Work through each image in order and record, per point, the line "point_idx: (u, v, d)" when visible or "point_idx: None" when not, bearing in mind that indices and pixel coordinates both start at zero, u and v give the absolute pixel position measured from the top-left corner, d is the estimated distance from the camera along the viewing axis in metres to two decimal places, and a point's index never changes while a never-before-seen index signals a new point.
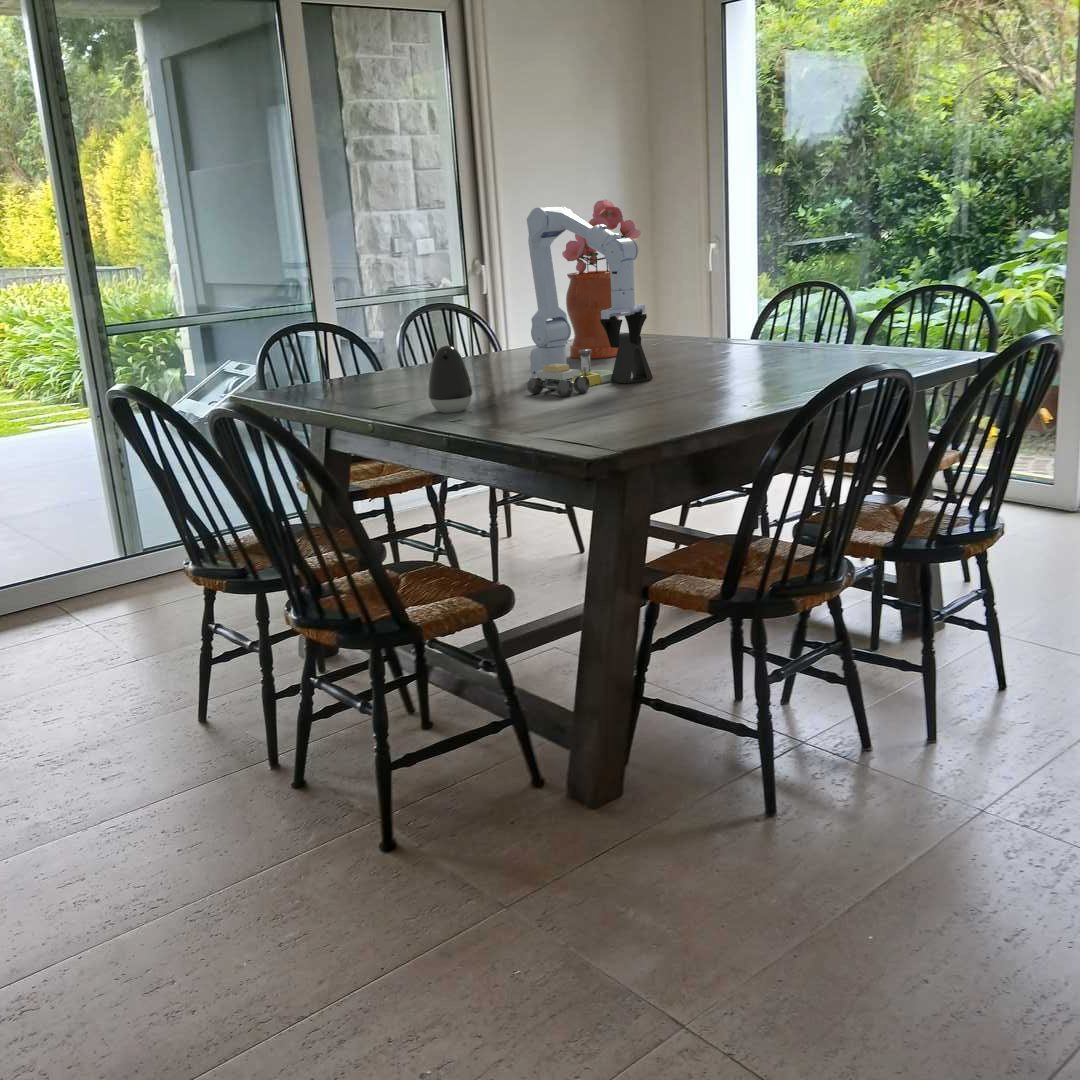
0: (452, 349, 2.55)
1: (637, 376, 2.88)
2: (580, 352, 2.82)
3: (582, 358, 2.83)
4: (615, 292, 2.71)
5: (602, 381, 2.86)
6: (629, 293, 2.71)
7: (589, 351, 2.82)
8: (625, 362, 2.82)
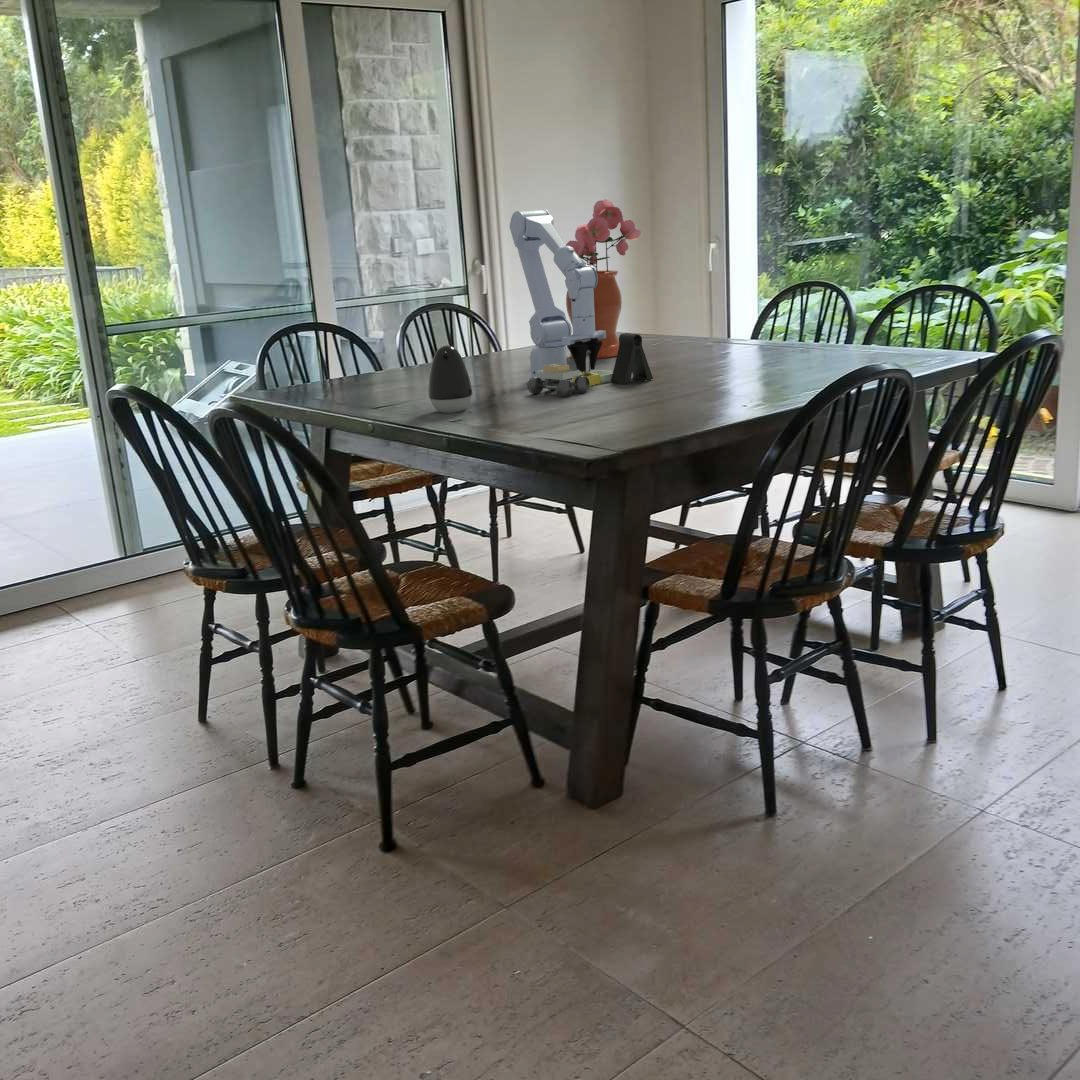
0: (452, 349, 2.55)
1: (637, 376, 2.88)
2: None
3: None
4: (576, 319, 2.79)
5: (602, 381, 2.86)
6: (589, 320, 2.78)
7: (589, 351, 2.82)
8: (625, 363, 2.82)
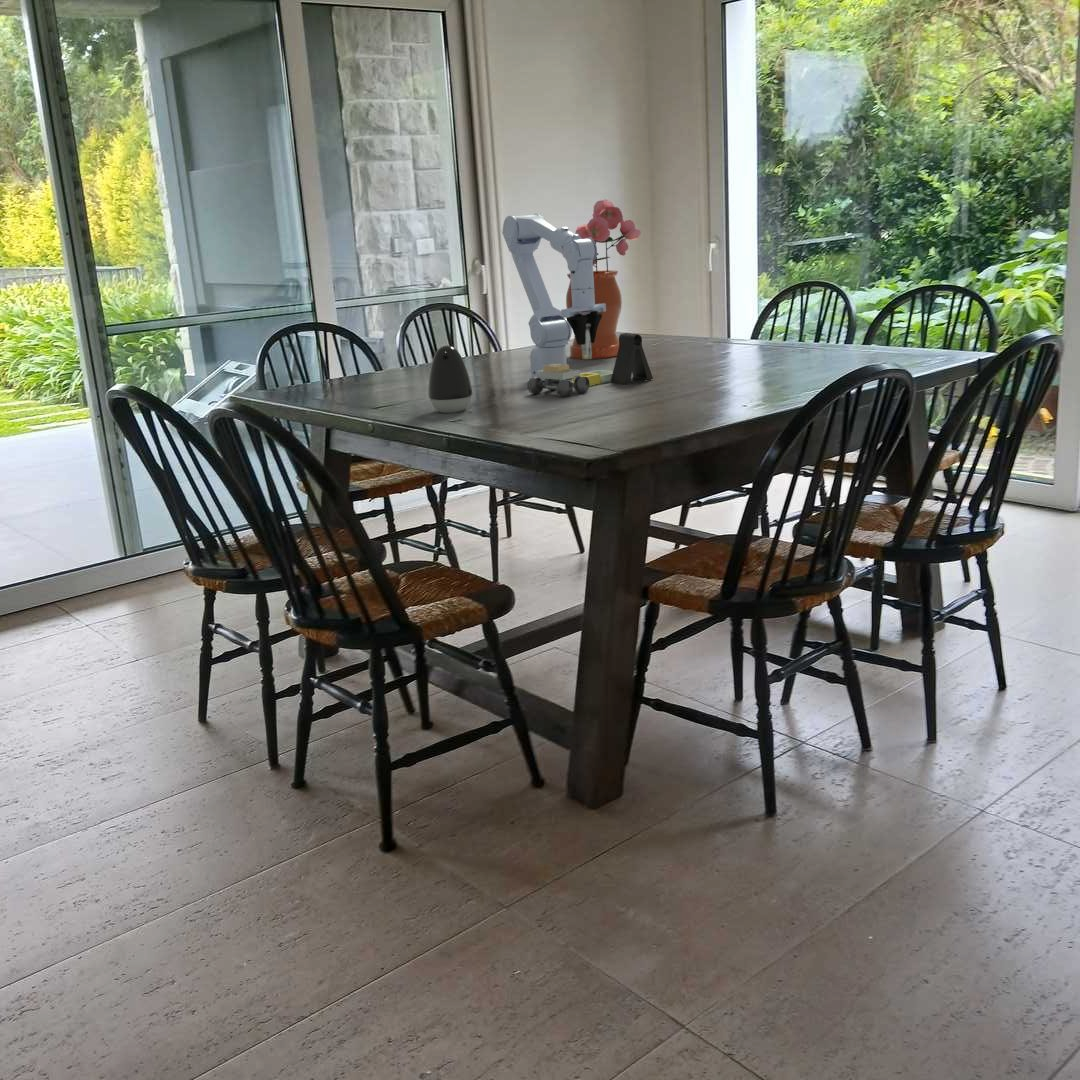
0: (452, 349, 2.55)
1: (637, 376, 2.88)
2: None
3: None
4: (575, 291, 2.77)
5: (602, 381, 2.86)
6: (589, 292, 2.77)
7: (589, 324, 2.80)
8: (625, 363, 2.82)
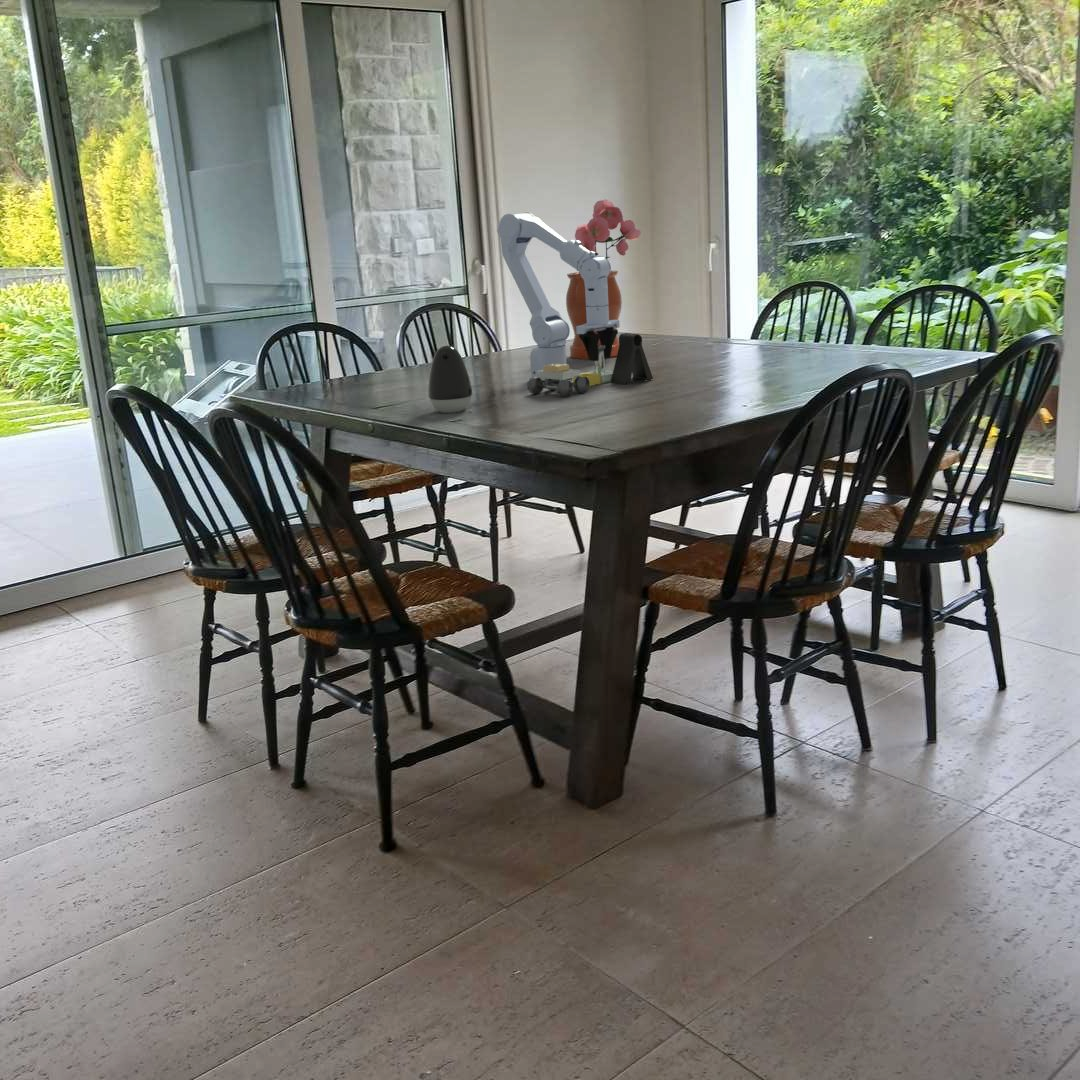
0: (452, 349, 2.55)
1: (637, 376, 2.88)
2: None
3: None
4: (590, 308, 2.82)
5: (602, 381, 2.86)
6: (603, 309, 2.82)
7: (603, 346, 2.86)
8: (625, 363, 2.82)
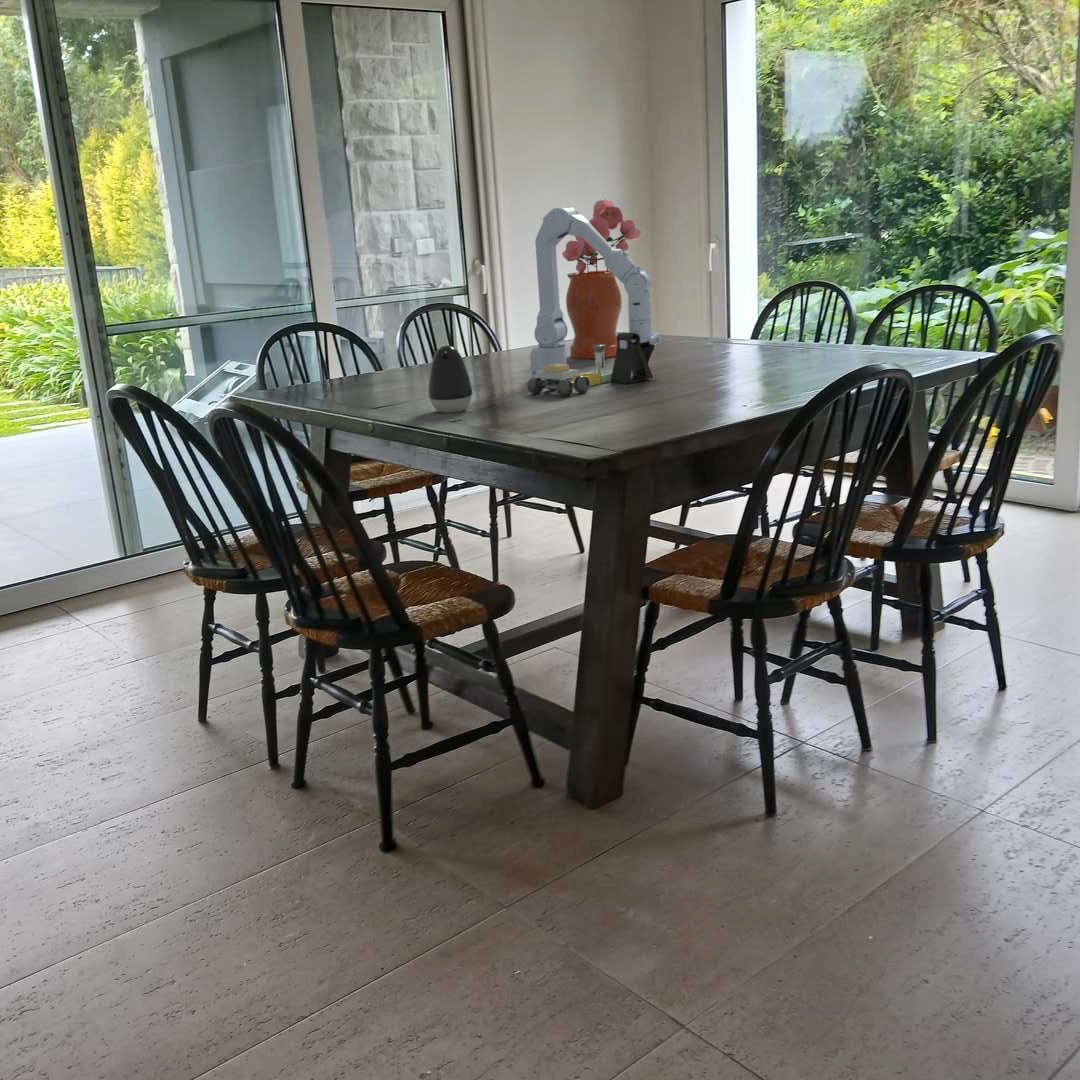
0: (452, 349, 2.55)
1: (637, 374, 2.88)
2: (594, 347, 2.86)
3: (596, 353, 2.87)
4: (633, 322, 2.83)
5: (602, 381, 2.86)
6: (646, 323, 2.83)
7: (603, 346, 2.86)
8: (624, 362, 2.82)
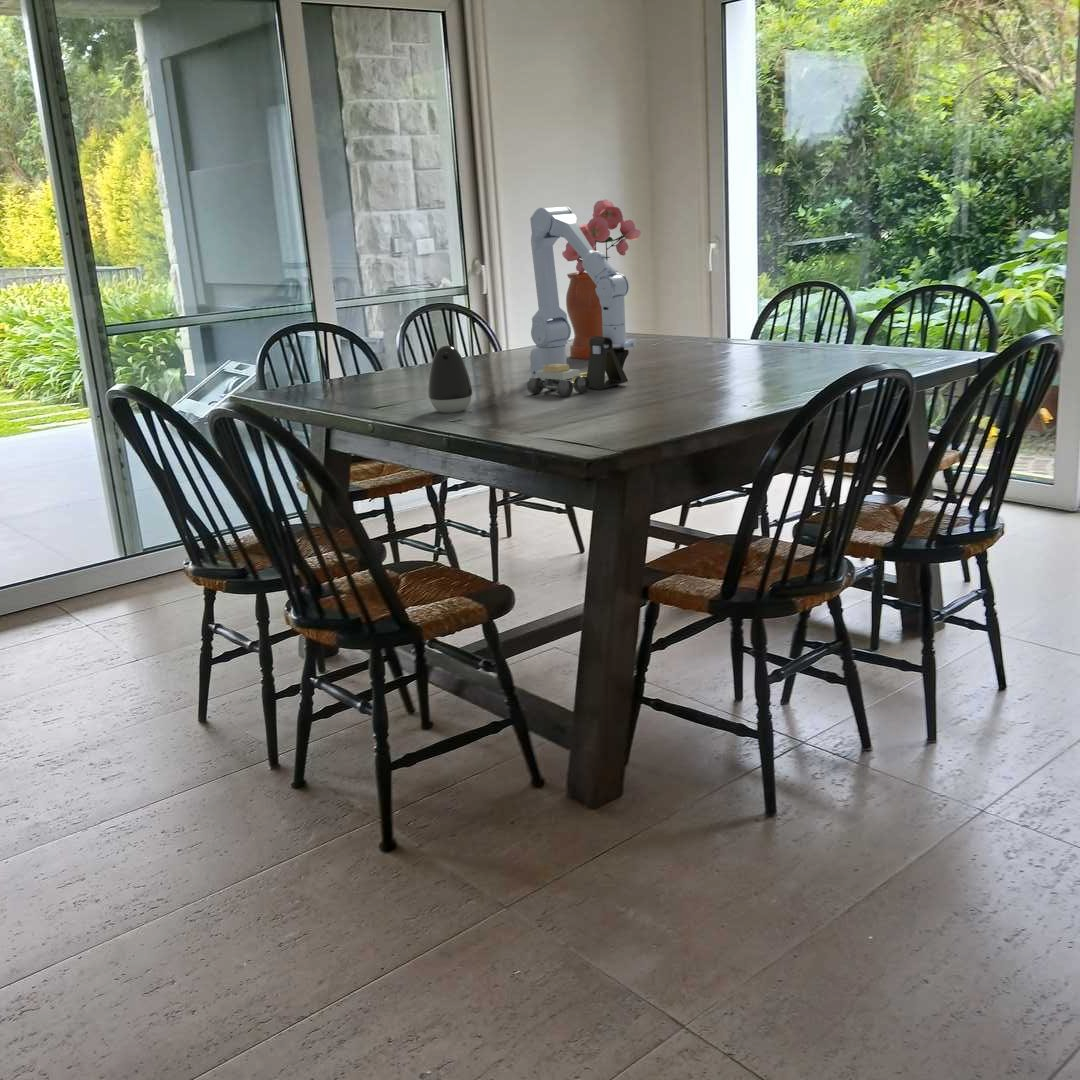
0: (452, 349, 2.55)
1: (612, 379, 2.82)
2: None
3: None
4: (606, 327, 2.76)
5: None
6: (620, 328, 2.76)
7: None
8: (597, 367, 2.76)
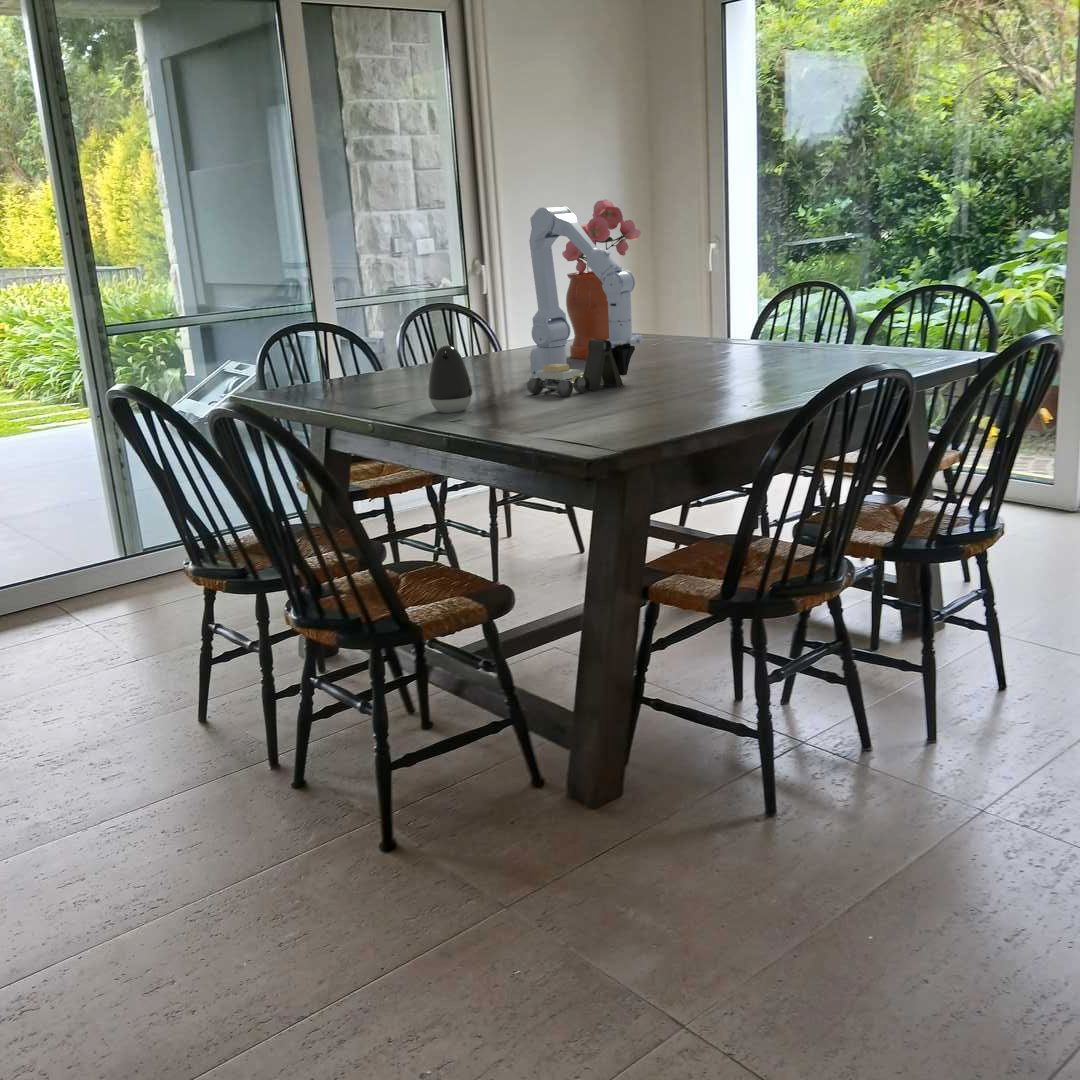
0: (452, 349, 2.55)
1: (607, 383, 2.81)
2: None
3: None
4: (613, 323, 2.78)
5: (602, 381, 2.86)
6: (626, 324, 2.77)
7: None
8: (595, 369, 2.75)
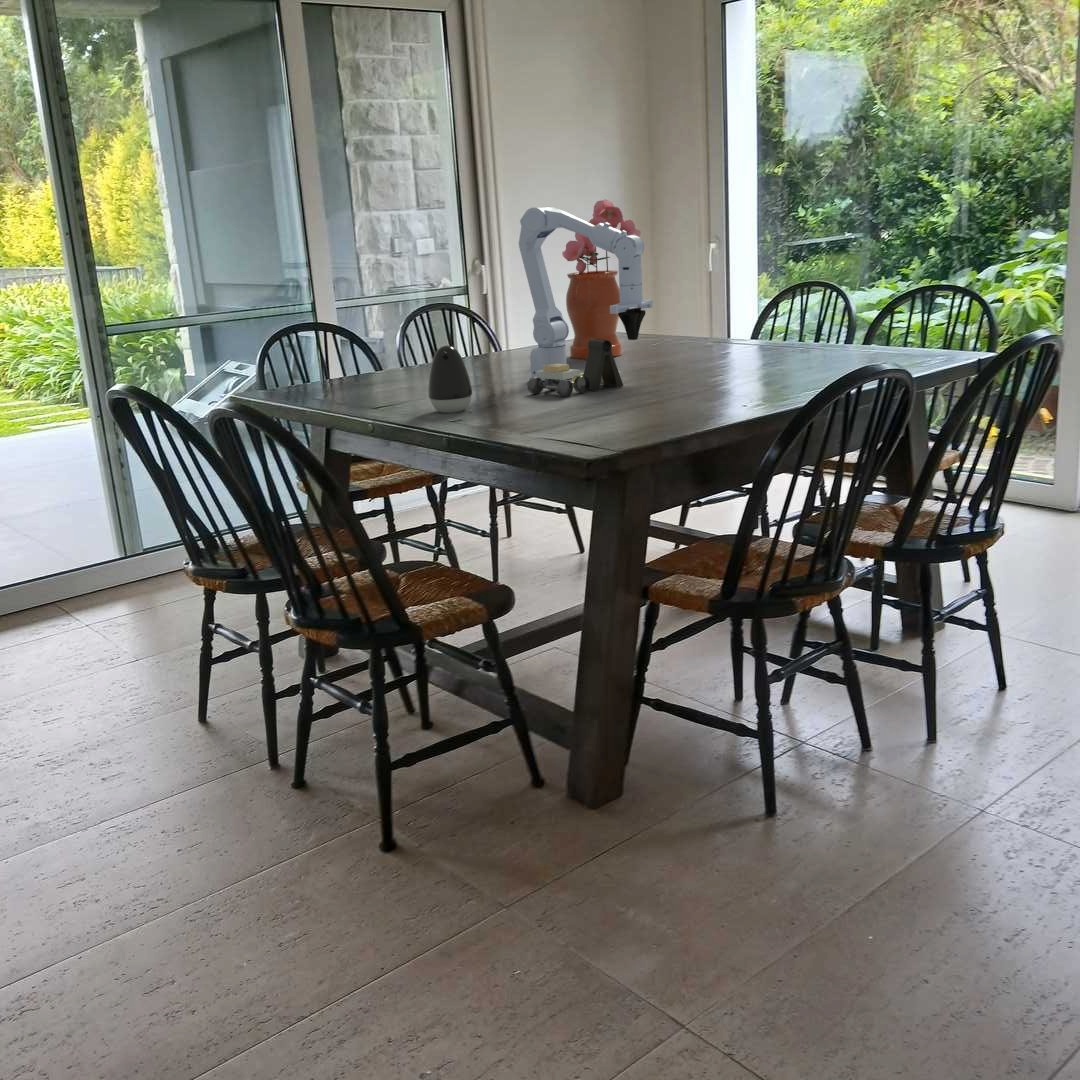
0: (452, 349, 2.55)
1: (607, 383, 2.81)
2: None
3: None
4: (623, 287, 2.78)
5: (602, 381, 2.86)
6: (637, 288, 2.78)
7: None
8: (595, 369, 2.75)
